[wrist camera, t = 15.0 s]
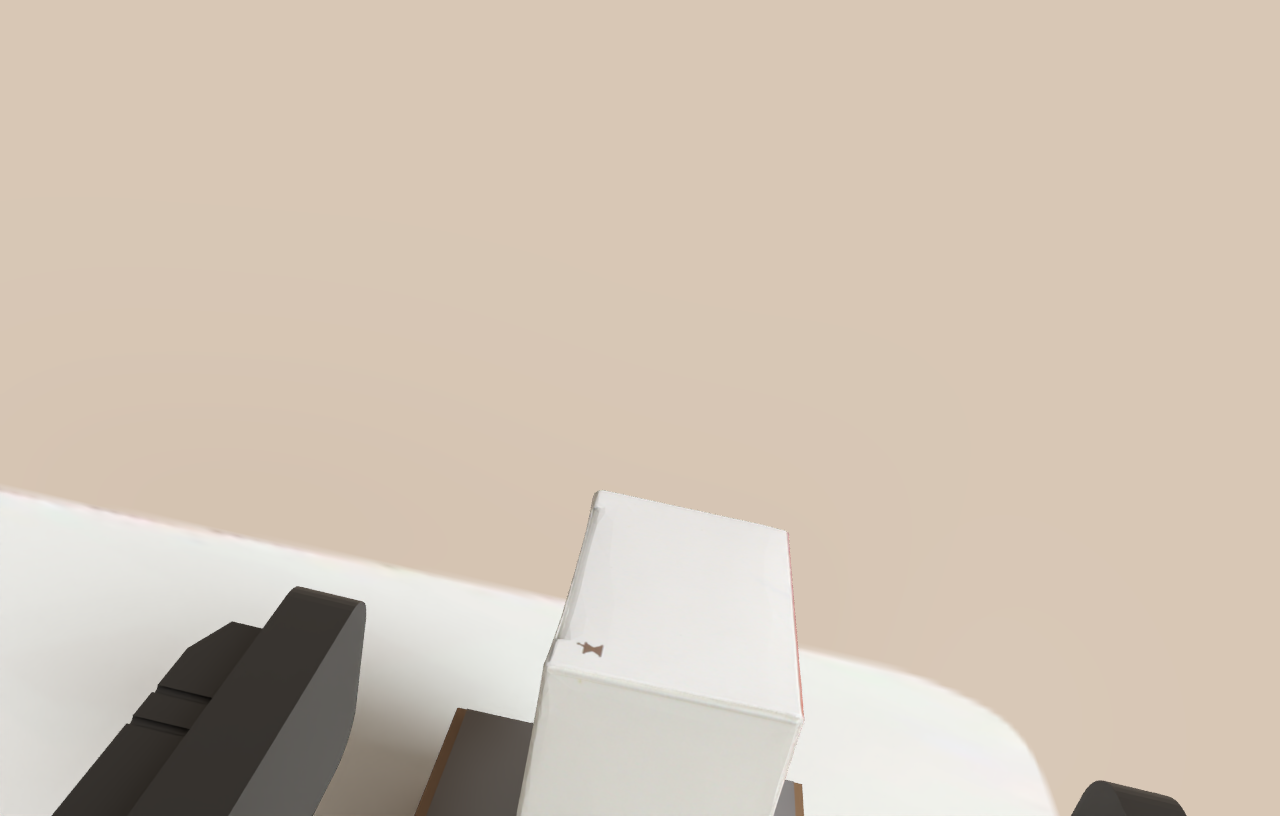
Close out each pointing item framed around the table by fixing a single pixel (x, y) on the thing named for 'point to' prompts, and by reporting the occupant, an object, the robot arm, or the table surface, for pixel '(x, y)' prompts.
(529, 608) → the table surface
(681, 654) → the small box
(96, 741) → the table surface
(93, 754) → the table surface
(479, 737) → the plinth
